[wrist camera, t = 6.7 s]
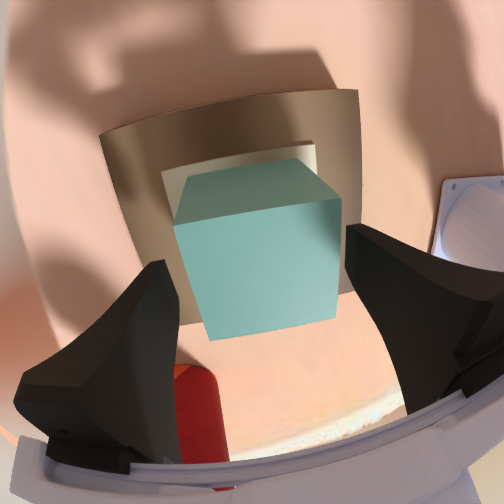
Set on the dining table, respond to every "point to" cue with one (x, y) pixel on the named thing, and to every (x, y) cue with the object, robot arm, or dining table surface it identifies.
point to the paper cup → (199, 417)
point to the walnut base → (230, 162)
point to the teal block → (260, 247)
